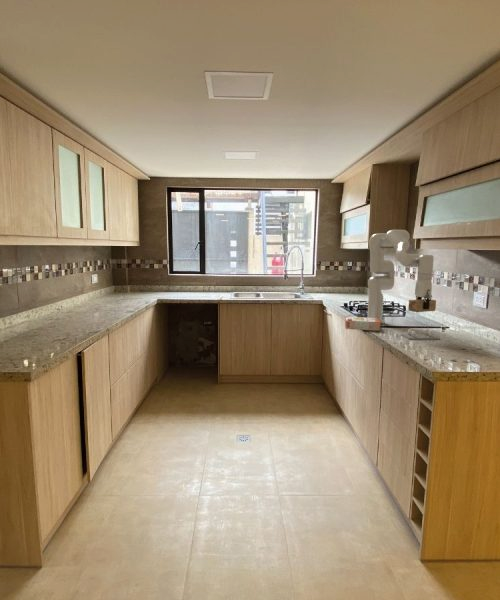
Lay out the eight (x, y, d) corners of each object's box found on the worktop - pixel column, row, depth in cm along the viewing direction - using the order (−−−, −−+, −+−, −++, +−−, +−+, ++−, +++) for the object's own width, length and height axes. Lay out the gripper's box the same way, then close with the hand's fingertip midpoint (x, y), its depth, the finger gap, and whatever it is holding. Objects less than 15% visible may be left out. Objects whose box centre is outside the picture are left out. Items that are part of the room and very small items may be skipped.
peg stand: (400, 335, 218) (401, 328, 218) (430, 335, 219) (430, 328, 219) (408, 339, 208) (409, 332, 208) (439, 339, 209) (440, 332, 209)
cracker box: (381, 321, 227) (345, 320, 231) (380, 331, 228) (345, 329, 232) (378, 317, 240) (344, 316, 245) (377, 326, 241) (344, 325, 246)
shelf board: (408, 310, 211) (408, 300, 211) (426, 309, 217) (427, 298, 216) (416, 312, 206) (417, 301, 205) (435, 310, 211) (436, 300, 210)
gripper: (410, 275, 217) (408, 305, 219) (426, 278, 200) (423, 310, 202) (423, 275, 217) (420, 305, 220) (439, 278, 200) (437, 310, 203)
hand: (422, 307), depth 211 cm, fingers closed on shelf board, 7 cm apart
